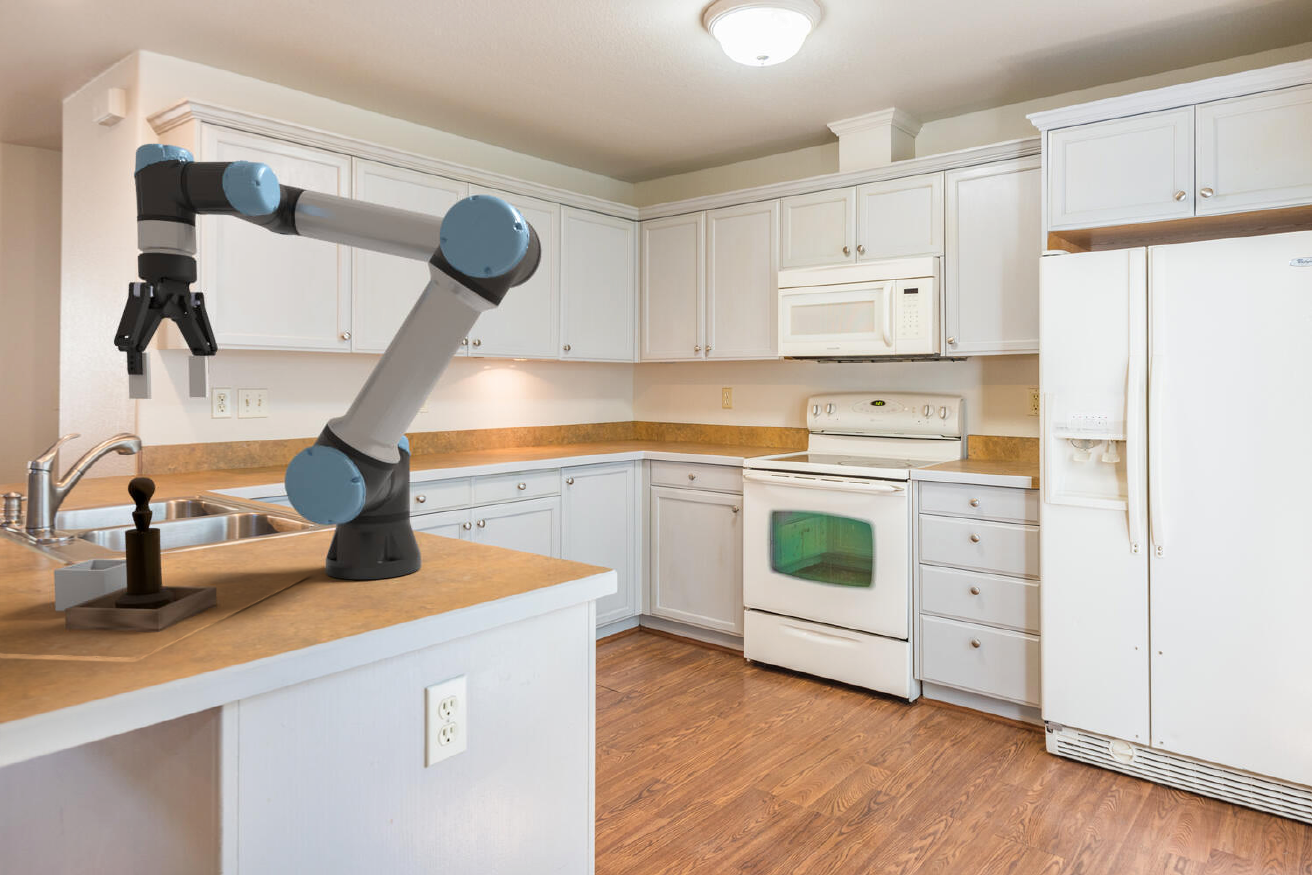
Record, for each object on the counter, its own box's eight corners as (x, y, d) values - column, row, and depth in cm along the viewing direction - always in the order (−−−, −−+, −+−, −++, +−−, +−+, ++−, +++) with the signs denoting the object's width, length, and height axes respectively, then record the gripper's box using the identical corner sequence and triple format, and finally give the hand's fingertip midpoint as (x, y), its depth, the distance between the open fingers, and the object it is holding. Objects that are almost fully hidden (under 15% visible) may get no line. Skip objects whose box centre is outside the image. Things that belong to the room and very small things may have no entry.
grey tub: (141, 601, 116) (140, 559, 116) (105, 615, 109) (104, 571, 109) (94, 600, 116) (93, 558, 116) (55, 614, 109) (54, 569, 109)
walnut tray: (216, 608, 113) (216, 587, 113) (159, 635, 101) (158, 611, 101) (133, 606, 113) (132, 585, 113) (65, 632, 101) (65, 608, 101)
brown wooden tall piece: (133, 607, 110) (129, 474, 109) (183, 606, 111) (180, 474, 110) (104, 621, 103) (100, 480, 102) (158, 620, 104) (154, 480, 103)
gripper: (195, 266, 134) (198, 396, 135) (79, 239, 109) (84, 399, 110) (239, 266, 133) (242, 396, 135) (133, 239, 109) (138, 399, 110)
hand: (171, 398), depth 123 cm, fingers open, 13 cm apart
